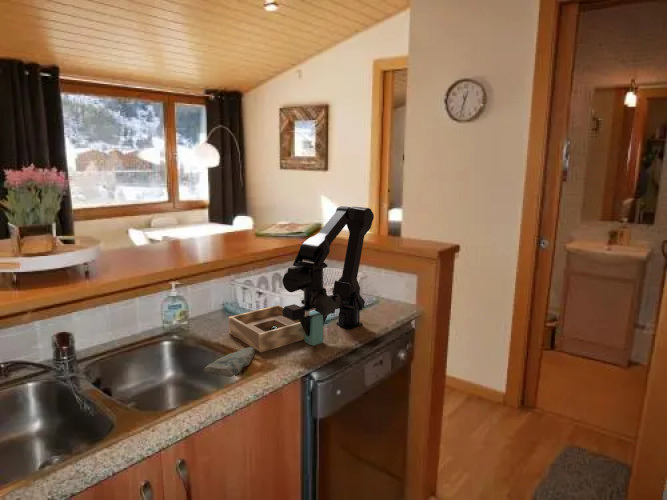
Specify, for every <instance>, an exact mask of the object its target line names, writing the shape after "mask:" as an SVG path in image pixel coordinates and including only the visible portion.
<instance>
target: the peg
mask: <svg viewBox="0 0 667 500" xmlns="http://www.w3.org/2000/svg"><path fill="white" fill-rule="evenodd" d="M309 316H312V319H311V320H310V336H307V335H306V333H305V339H304V343H306V344H308V345H311V346H317V345H319V344H322V343H324V326H323V315H321V314H320V313H319V312H317V311H315V310H312V311H310V312H309Z"/></svg>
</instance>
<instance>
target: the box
mask: <svg viewBox="0 0 667 500" xmlns="http://www.w3.org/2000/svg"><path fill="white" fill-rule="evenodd" d="M280 305H281V304H277V305H273V306H268V307H265V308H261V309H256V310H251V311H248V312H244V313H239V314H235V315H230V316H228V328H229V329H228V331H229V335H230V336H233V337H235V338H236V339H238V340H239V341H241V342H243V343H244V344H247V345H248V346H249V347H253V348H254V350H255V351H258V352H260V353H264V352H267V351H270V350H274V349H277V348H280V347H284V346H287V345H290V344H293V343H297V342H300V341H303V340H304V341H305V331H304V329H303V327H302V325H301V323H300V321H299V319H298V320H291V319H289V318H287V317H285V316H283V307H284V306H283V305H281V306H280ZM282 306H283V307H282ZM273 326H276V327H277V329H275V328H274V329H271V328H272V327H273ZM270 329H271V330H270Z"/></svg>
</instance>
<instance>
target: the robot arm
mask: <svg viewBox="0 0 667 500" xmlns="http://www.w3.org/2000/svg"><path fill="white" fill-rule="evenodd" d="M374 218H375V217H374V212H373V210H372V209H371V208H369V207H363V206H362V207H360V206H341V205H340V206H338V207H337V208H336V209H335V213H334V214H333V215H332V216H331V217H330V218H329V220H328V221H327V222H326V223H325V224H324V226H323V227H322V228H321V229H320V231H319V232H318V233H317V234H315V235H313V236H310V237H309V238H308V239H306V240H304V241H303V242H302V244H301V245H300V246H299V250H298V253H297V254H296V257H295V258H294V261H293V264H292V266H291V267H288V268H287V272H286V273H284V275H283V277H282V286H283V287H284V289H285V290H286V291H287V292H288V293H295V292H297V291H302V292H303V299H301V304H302V305H303V306H300V305H298V304H295V303H294V304H290V305H285V306H283V307H284V308H283V316H285V317H287V318H289V319H291V320H298V319H299V321H300V323H301V325H302V327H303V329H304V331H305V333H306V335H307V336H310V320H311V319H312V316H309V312H312V311H317V312H319V313H320V314H321V315H323V327H324V326H325V322H326V320H327V318H328V316H329V315H331V314H332V315H333V314H334V313H335V312H336V310H338V309H339V312H338V321H336V325H338V326H341V327H343V328H345V329H348V330H351V329H354V328H357V327H360V326H363V324H364V323H363V322H361V321H360V315H361V314H360V313H361V312H360V311H362V310H363V309H364V308H365V304H366V301H365V299H364V298H363V297H362V296H361V287H360V284H359V280H358V274H359V268H360V263H361V257H362V250H363V247H364V241H365V236H366V235H367V233H369V231H370V229H371V228H372V224H373V220H374ZM345 226H346V227H347V229H348V233H349V235H348V240H347V246H346V249H345V250H346V251H345V257H344V262H343V269H342V274H341V276H340V278H339V279H338V280H334V283H333V289H332V292H331V293H332V294H330V295H328V294H327V289H326V287H324V269H326V268H328V264H327V263H326V262H325V260H326V259H327V257H328V255H329V254H330V252H331V245H332V243H333V242H334V240H336V238H337V237H338V235H340V233H341V232H342V230H343V229H344V228H345Z"/></svg>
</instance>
